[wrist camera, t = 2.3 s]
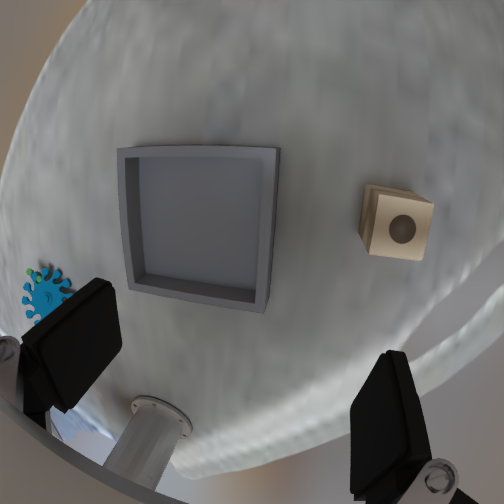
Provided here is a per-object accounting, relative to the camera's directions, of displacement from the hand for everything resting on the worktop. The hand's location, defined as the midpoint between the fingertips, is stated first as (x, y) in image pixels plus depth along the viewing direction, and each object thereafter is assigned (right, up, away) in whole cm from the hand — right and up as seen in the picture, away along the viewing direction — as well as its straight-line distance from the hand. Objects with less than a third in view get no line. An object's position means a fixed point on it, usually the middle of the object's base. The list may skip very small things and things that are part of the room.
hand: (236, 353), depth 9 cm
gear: (-31, -2, +31) cm, 44 cm away
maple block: (+14, +7, +17) cm, 23 cm away
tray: (-5, +7, +21) cm, 23 cm away
